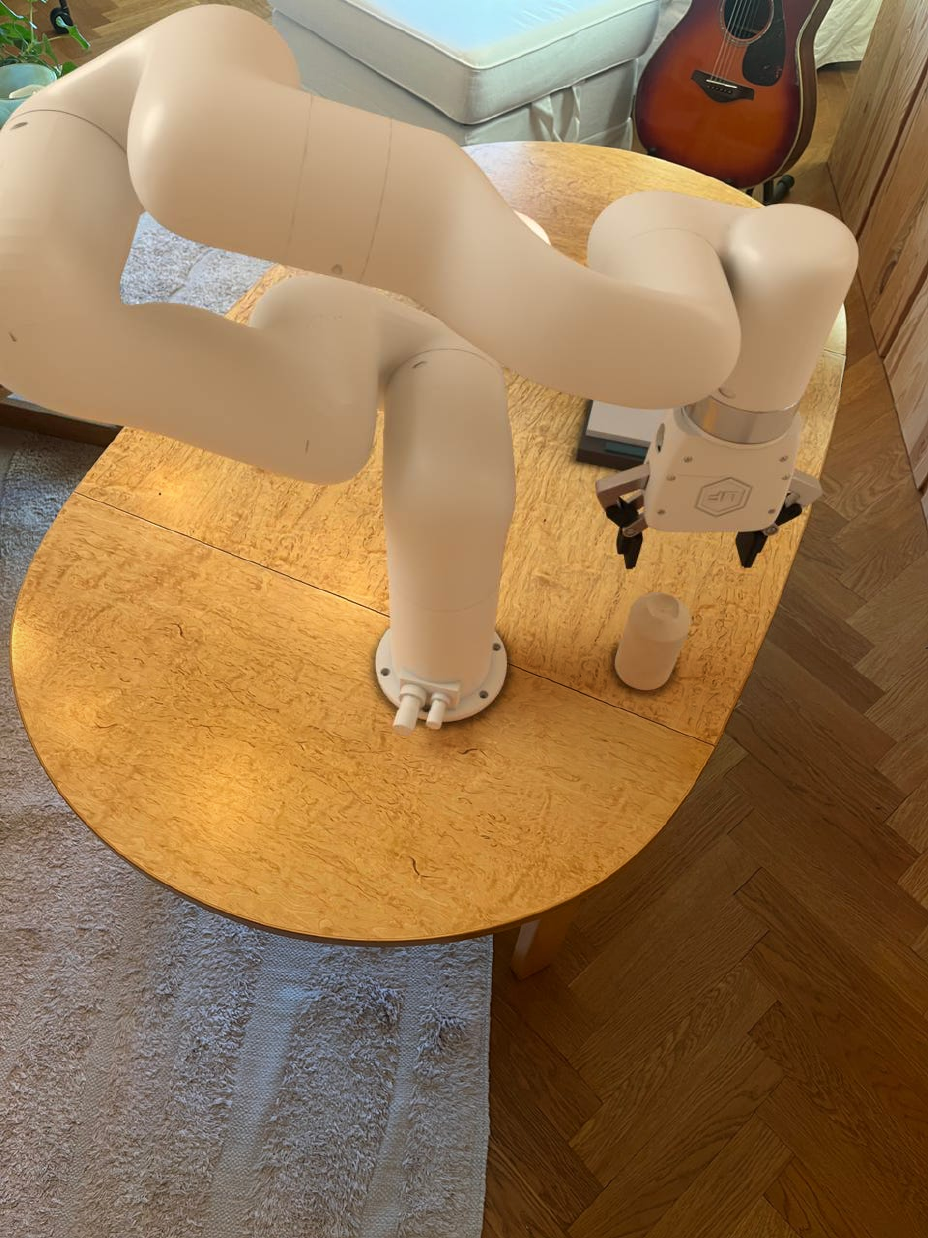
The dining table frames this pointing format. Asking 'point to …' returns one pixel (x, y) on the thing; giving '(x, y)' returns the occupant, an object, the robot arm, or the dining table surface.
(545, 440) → the dining table surface
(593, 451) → the scale
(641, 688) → the candle
